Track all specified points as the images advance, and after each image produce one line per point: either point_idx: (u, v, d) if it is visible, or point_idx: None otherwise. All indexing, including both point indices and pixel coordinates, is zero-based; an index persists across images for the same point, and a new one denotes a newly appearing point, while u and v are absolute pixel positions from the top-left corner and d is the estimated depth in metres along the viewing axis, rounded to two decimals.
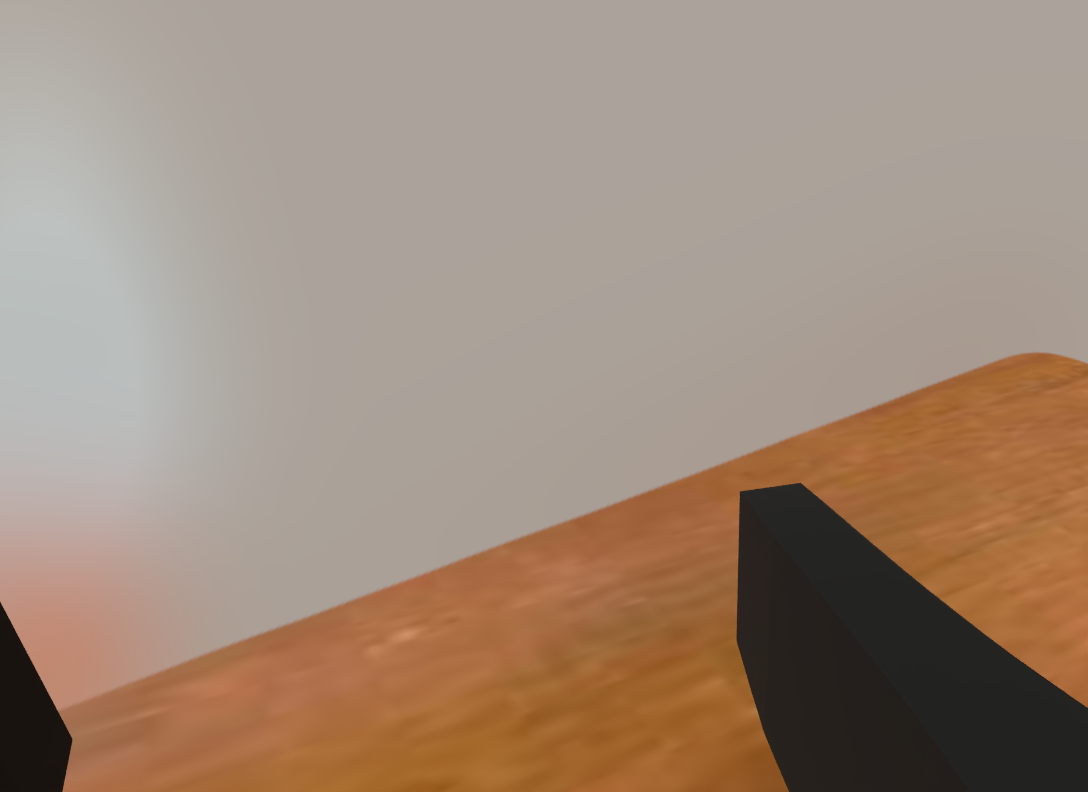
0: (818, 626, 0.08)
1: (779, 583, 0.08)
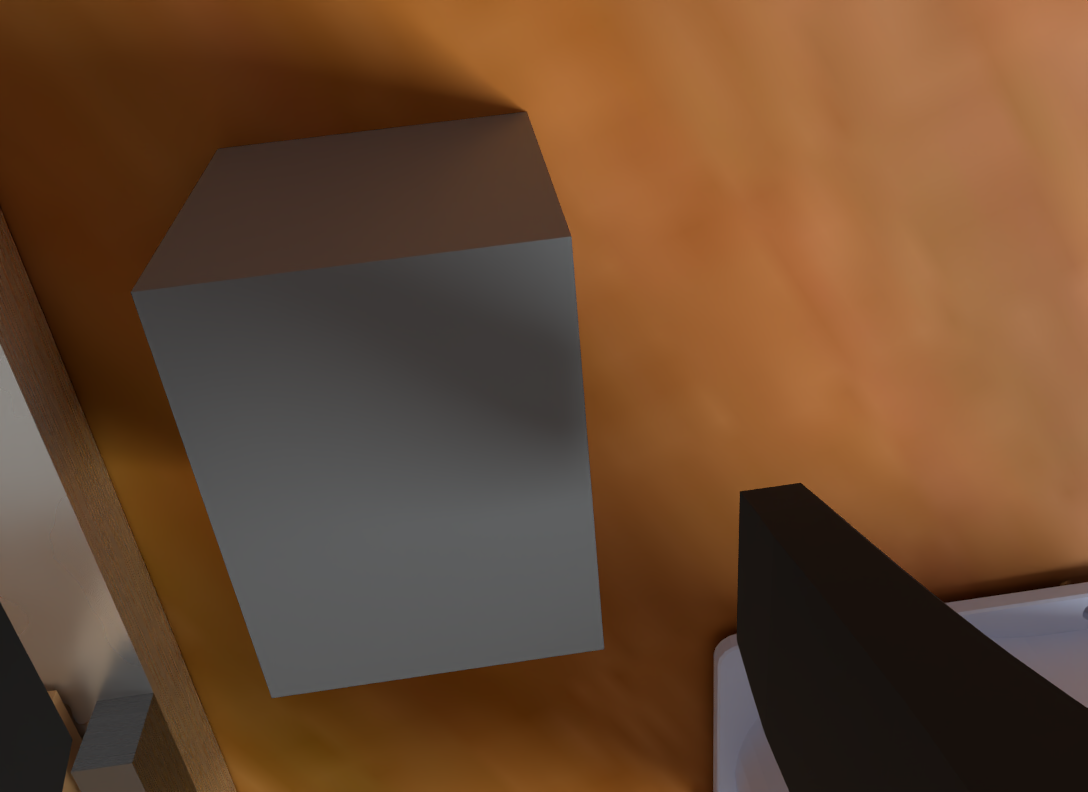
0: (818, 626, 0.08)
1: (779, 583, 0.08)
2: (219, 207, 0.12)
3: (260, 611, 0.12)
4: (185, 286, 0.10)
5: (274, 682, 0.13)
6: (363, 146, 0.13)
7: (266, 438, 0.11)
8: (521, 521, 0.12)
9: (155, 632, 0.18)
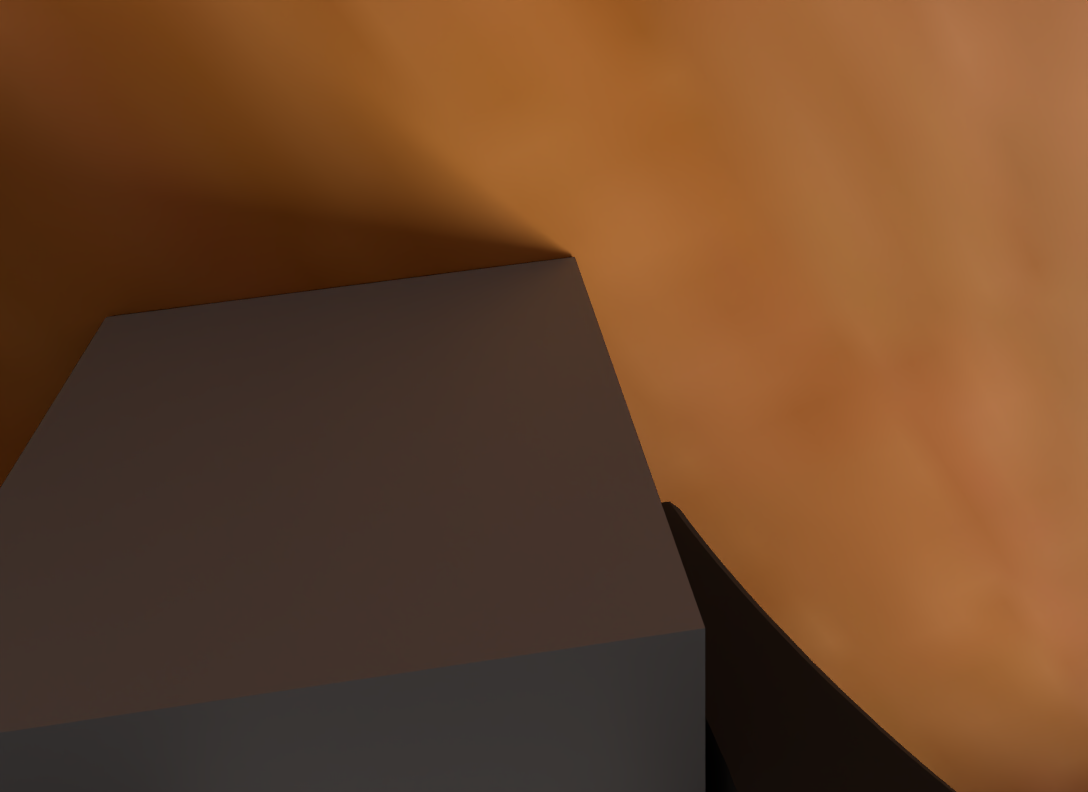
0: None
1: None
2: (70, 477, 0.07)
3: None
4: None
5: None
6: (323, 330, 0.08)
7: None
8: None
9: None
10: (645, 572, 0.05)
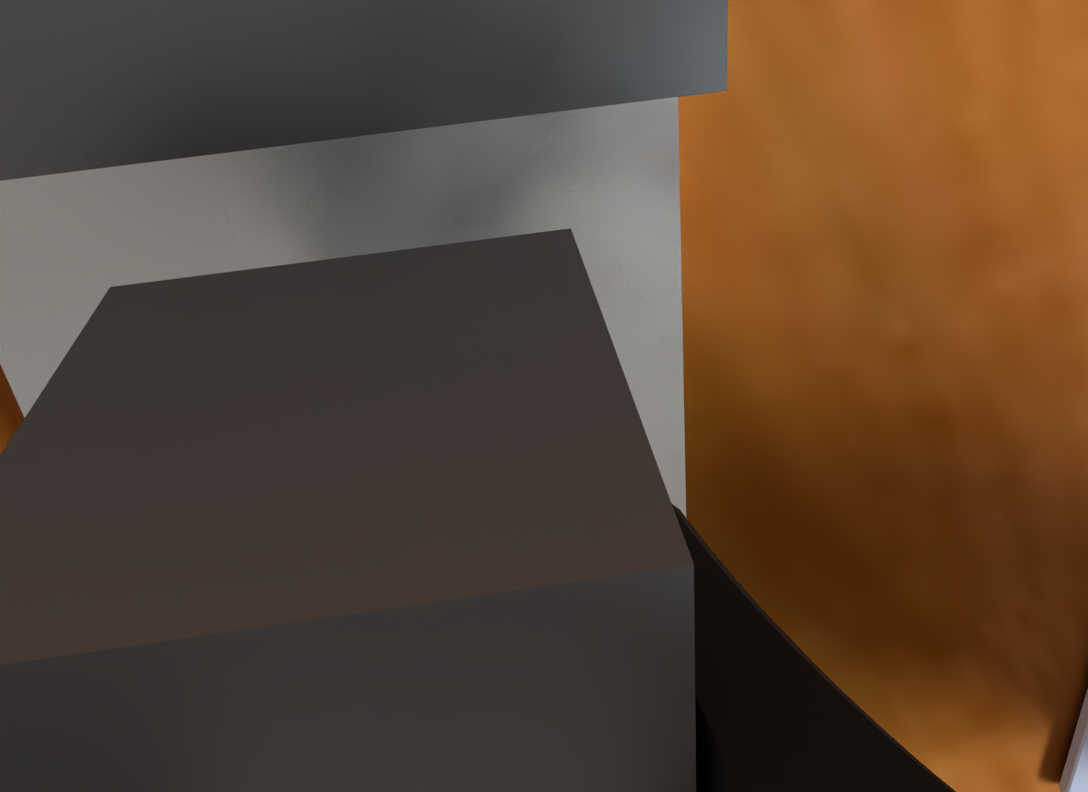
0: None
1: None
2: (76, 433, 0.07)
3: None
4: None
5: None
6: (324, 295, 0.09)
7: None
8: None
9: None
10: (637, 514, 0.06)
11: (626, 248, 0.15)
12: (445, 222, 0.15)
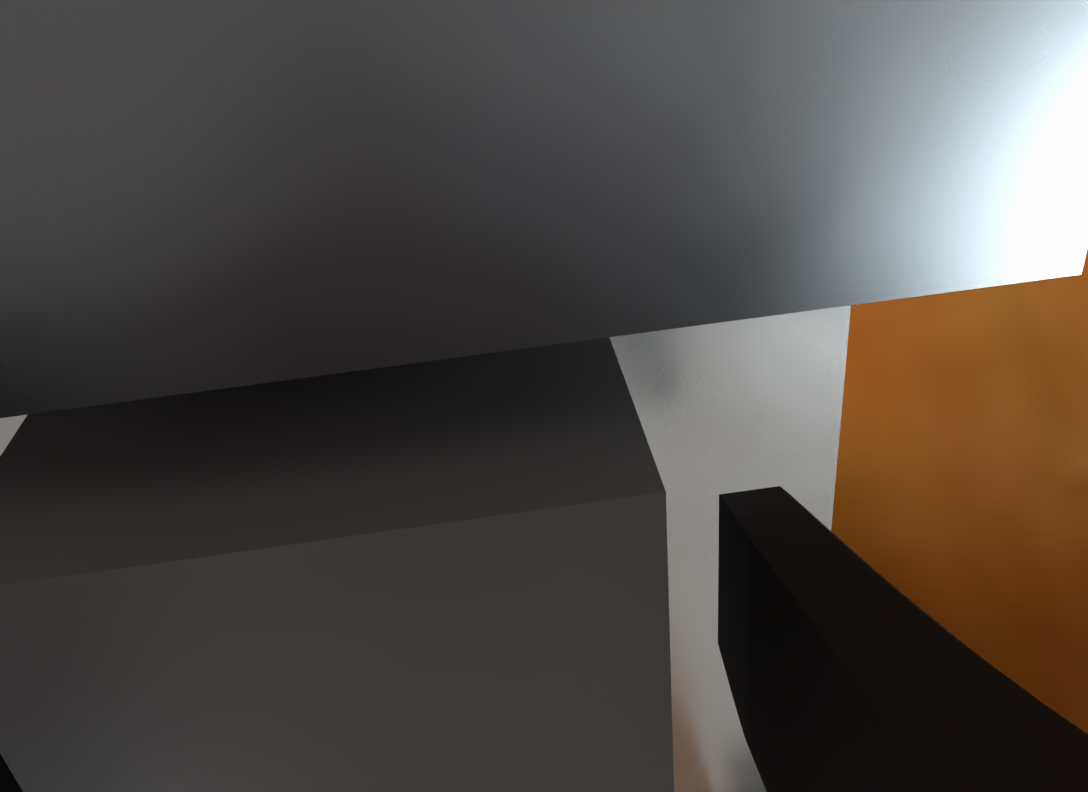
0: (793, 630, 0.08)
1: (756, 587, 0.08)
2: None
3: None
4: (3, 588, 0.06)
5: None
6: None
7: (161, 785, 0.07)
8: None
9: None
10: (615, 451, 0.06)
11: (772, 393, 0.12)
12: None
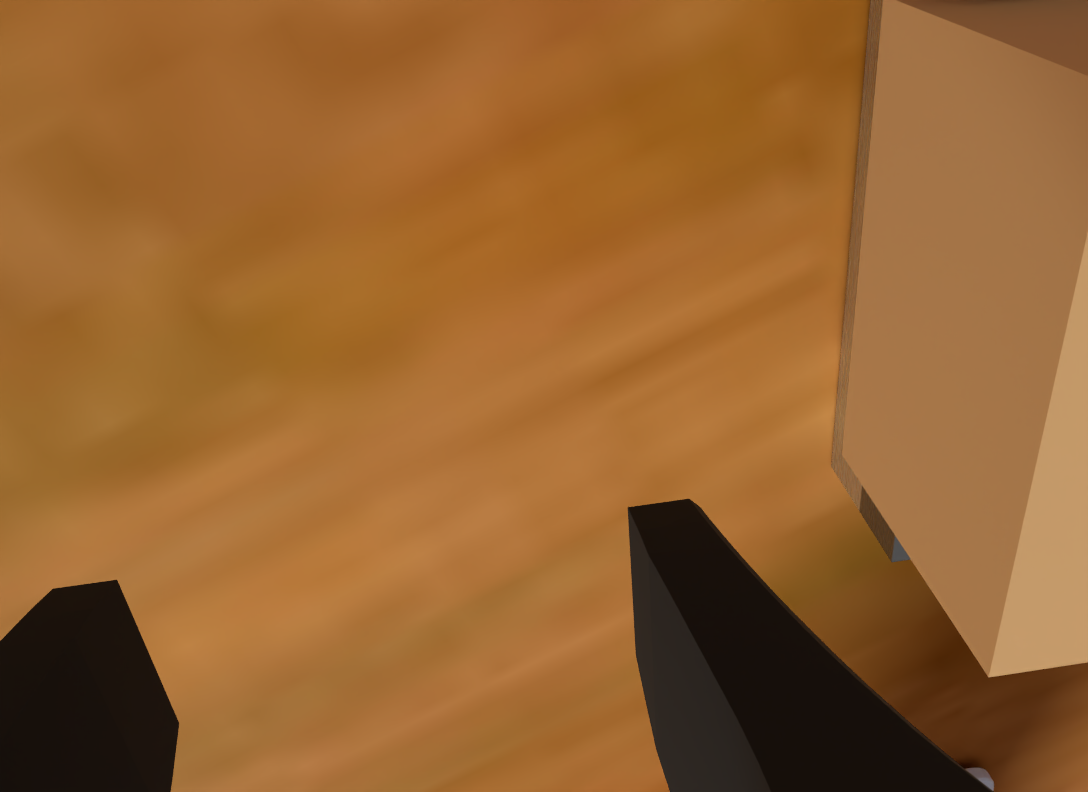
0: (682, 646, 0.08)
1: (655, 601, 0.08)
2: None
3: None
4: None
5: None
6: None
7: None
8: None
9: None
10: None
11: None
12: None
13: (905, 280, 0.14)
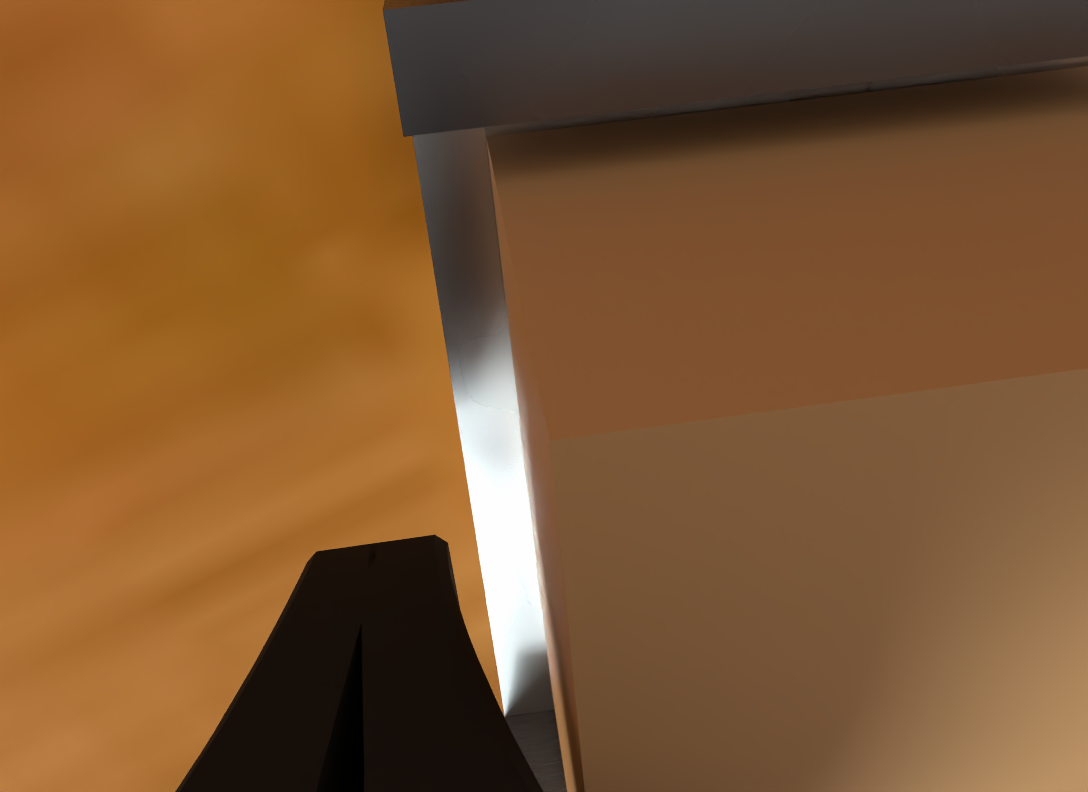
0: None
1: None
2: None
3: None
4: None
5: None
6: None
7: None
8: None
9: None
10: None
11: None
12: None
13: (537, 530, 0.10)
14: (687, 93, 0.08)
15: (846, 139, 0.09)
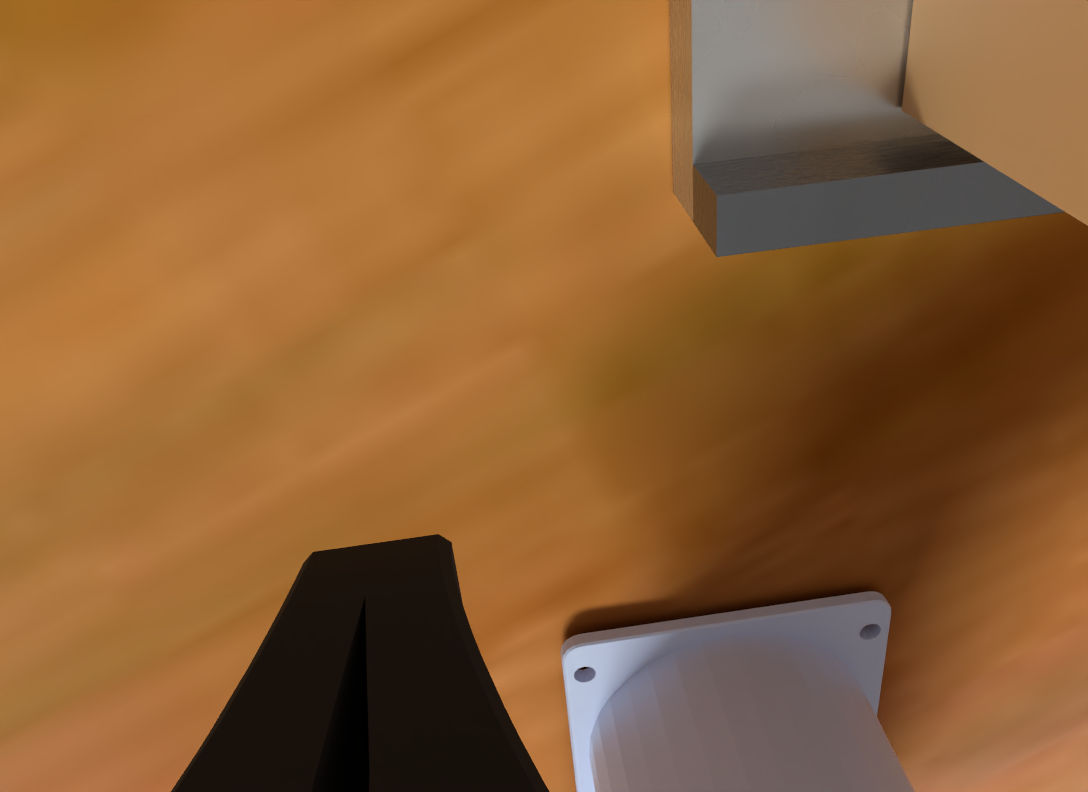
0: None
1: None
2: None
3: None
4: None
5: None
6: None
7: None
8: None
9: None
10: None
11: None
12: None
13: None
14: None
15: None
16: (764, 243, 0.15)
